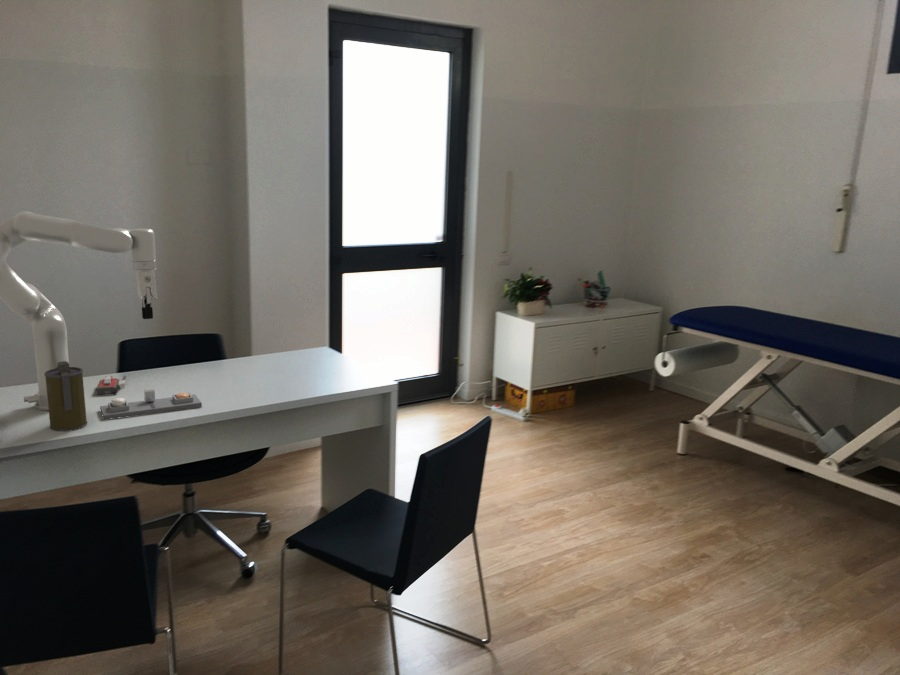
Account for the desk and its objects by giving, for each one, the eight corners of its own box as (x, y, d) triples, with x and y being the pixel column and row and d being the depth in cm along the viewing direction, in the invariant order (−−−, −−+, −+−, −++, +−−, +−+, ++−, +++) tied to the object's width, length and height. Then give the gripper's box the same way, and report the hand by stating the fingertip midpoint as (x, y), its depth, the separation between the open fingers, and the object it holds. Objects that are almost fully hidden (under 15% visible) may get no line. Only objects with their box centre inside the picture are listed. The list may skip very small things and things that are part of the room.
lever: (155, 400, 246) (154, 390, 245) (145, 402, 244) (144, 391, 244) (154, 399, 248) (153, 388, 247) (144, 400, 246) (143, 390, 245)
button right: (177, 402, 246) (177, 397, 246) (175, 398, 249) (175, 393, 249) (190, 400, 248) (190, 395, 248) (187, 397, 251) (187, 392, 251)
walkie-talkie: (123, 395, 257) (128, 379, 276) (122, 383, 256) (127, 368, 275) (95, 397, 254) (102, 381, 273) (94, 385, 253) (101, 369, 272)
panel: (104, 420, 232) (103, 411, 232) (100, 410, 241) (99, 401, 240) (201, 406, 247) (201, 398, 247) (195, 398, 256) (194, 390, 255)
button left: (112, 407, 236) (112, 402, 235) (111, 404, 239) (110, 398, 239) (126, 406, 238) (125, 400, 237) (124, 402, 241) (123, 397, 241)
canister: (48, 423, 228) (42, 360, 224) (85, 417, 234) (80, 357, 229) (51, 434, 219) (44, 369, 215) (89, 428, 225) (84, 365, 220)
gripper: (160, 268, 245) (163, 321, 249) (152, 262, 257) (155, 313, 261) (135, 269, 241) (139, 323, 245) (129, 263, 253) (132, 315, 258)
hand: (147, 318), depth 253 cm, fingers closed
